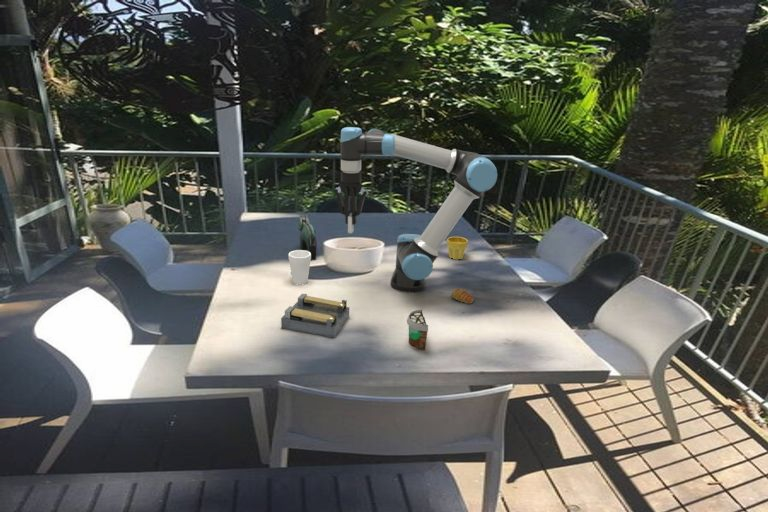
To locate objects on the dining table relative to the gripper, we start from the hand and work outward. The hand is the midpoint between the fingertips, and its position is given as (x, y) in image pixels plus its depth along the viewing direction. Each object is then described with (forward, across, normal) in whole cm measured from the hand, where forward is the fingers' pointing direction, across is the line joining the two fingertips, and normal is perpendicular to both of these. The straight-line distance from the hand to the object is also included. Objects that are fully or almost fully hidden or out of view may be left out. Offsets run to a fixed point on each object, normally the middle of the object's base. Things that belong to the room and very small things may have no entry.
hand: (350, 232), depth 186 cm
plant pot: (+30, -37, -62) cm, 78 cm away
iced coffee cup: (+29, -30, +26) cm, 49 cm away
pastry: (+30, -44, -15) cm, 55 cm away
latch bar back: (+24, +5, +17) cm, 29 cm away
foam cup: (+28, +25, -9) cm, 39 cm away
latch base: (+28, +6, +22) cm, 37 cm away
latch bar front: (+23, +5, +28) cm, 37 cm away
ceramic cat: (+29, +34, -42) cm, 62 cm away
